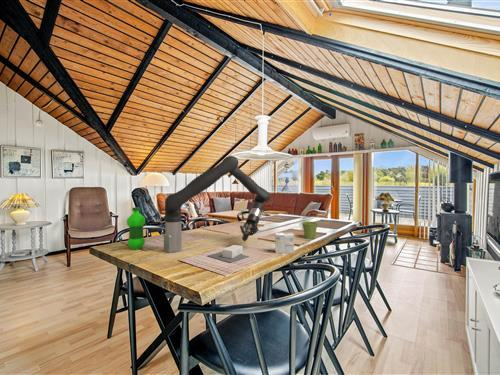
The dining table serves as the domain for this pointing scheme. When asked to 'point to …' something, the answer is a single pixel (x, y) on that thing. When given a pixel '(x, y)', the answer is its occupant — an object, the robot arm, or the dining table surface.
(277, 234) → the light bulb box
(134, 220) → the plastic bottle
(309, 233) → the plant pot
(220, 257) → the mat
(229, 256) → the skincare box
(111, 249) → the dining table surface
